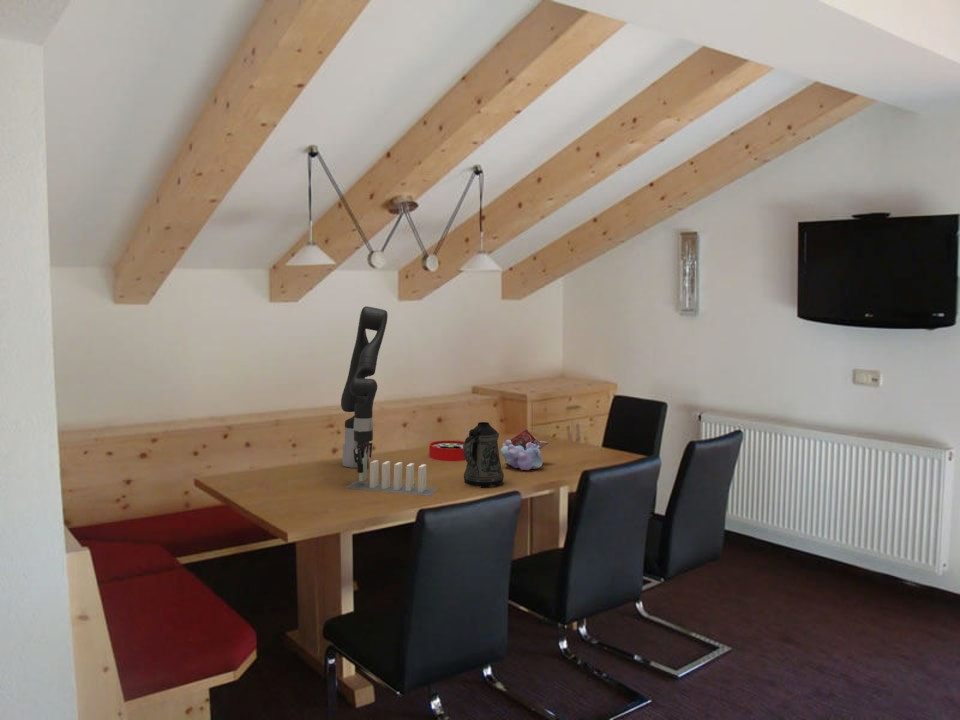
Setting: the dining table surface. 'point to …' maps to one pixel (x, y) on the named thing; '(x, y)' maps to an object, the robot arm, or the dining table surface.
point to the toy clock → (446, 450)
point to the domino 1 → (364, 470)
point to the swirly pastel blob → (523, 451)
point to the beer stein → (482, 457)
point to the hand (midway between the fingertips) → (362, 470)
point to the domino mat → (390, 488)
